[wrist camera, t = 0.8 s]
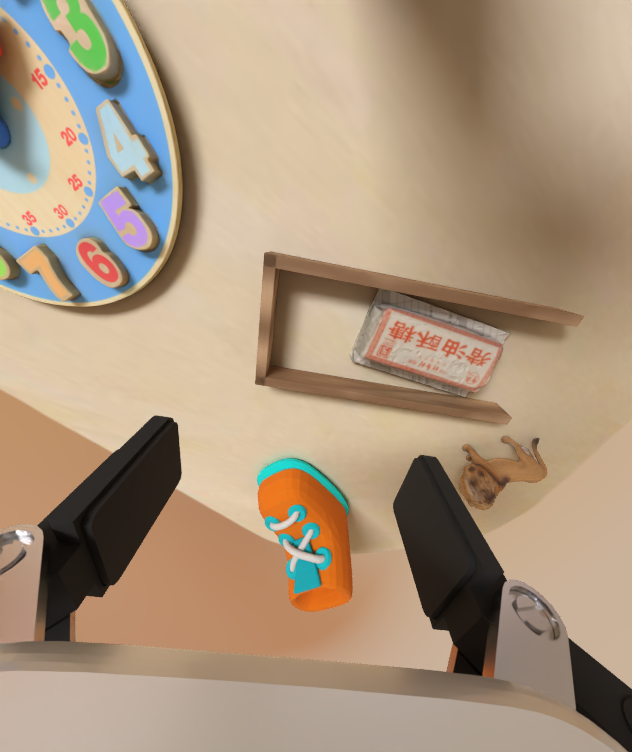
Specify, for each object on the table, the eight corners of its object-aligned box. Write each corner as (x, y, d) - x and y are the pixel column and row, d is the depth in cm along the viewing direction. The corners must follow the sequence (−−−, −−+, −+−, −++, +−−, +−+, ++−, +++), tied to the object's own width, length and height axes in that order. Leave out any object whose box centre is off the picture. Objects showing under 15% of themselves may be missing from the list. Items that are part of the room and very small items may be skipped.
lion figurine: (445, 470, 44) (473, 520, 36) (440, 450, 42) (468, 499, 34) (536, 446, 41) (588, 495, 33) (535, 423, 38) (591, 470, 31)
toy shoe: (299, 445, 42) (289, 539, 28) (357, 505, 49) (371, 602, 36) (246, 472, 45) (215, 567, 32) (308, 525, 53) (304, 619, 40)
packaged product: (350, 373, 30) (387, 291, 25) (346, 356, 34) (377, 284, 29) (478, 411, 32) (533, 344, 28) (460, 391, 36) (505, 330, 32)
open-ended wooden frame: (270, 251, 27) (264, 252, 24) (557, 308, 30) (584, 316, 27) (261, 371, 35) (255, 384, 32) (491, 409, 37) (507, 424, 34)
